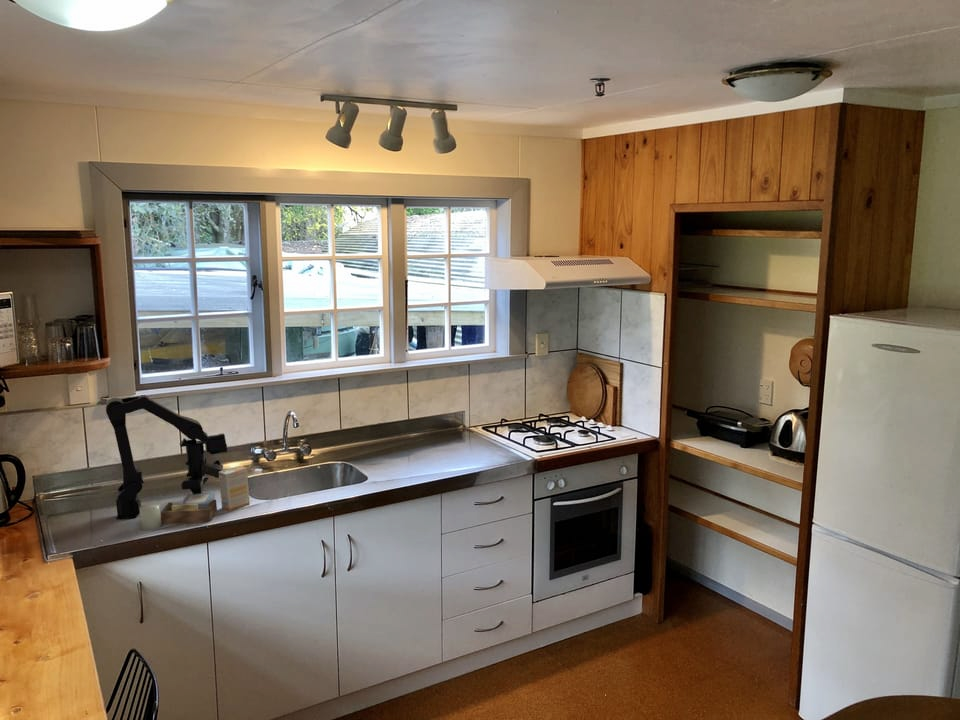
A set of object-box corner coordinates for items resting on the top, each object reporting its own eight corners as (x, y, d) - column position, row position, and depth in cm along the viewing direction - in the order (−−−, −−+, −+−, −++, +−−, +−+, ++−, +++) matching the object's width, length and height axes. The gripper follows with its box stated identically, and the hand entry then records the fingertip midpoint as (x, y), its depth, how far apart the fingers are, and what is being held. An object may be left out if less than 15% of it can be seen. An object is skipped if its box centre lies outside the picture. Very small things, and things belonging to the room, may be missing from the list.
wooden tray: (161, 524, 244) (159, 506, 243) (169, 513, 254) (168, 496, 253) (210, 521, 246) (209, 503, 245) (217, 511, 255) (215, 494, 254)
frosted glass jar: (138, 531, 239) (136, 509, 238) (144, 524, 245) (142, 503, 244) (158, 529, 240) (156, 508, 239) (164, 522, 246) (162, 502, 245)
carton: (181, 519, 250) (180, 504, 249) (188, 508, 260) (187, 493, 260) (209, 517, 251) (208, 502, 250) (216, 506, 262) (214, 492, 261)
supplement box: (242, 501, 265) (239, 465, 262) (250, 504, 261) (247, 467, 259) (220, 508, 258) (218, 471, 256) (228, 511, 255) (226, 473, 253)
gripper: (214, 463, 252) (217, 508, 254) (225, 448, 270) (228, 490, 273) (179, 465, 250) (183, 510, 253) (192, 449, 269) (196, 492, 271)
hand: (199, 500), depth 263 cm, fingers closed
